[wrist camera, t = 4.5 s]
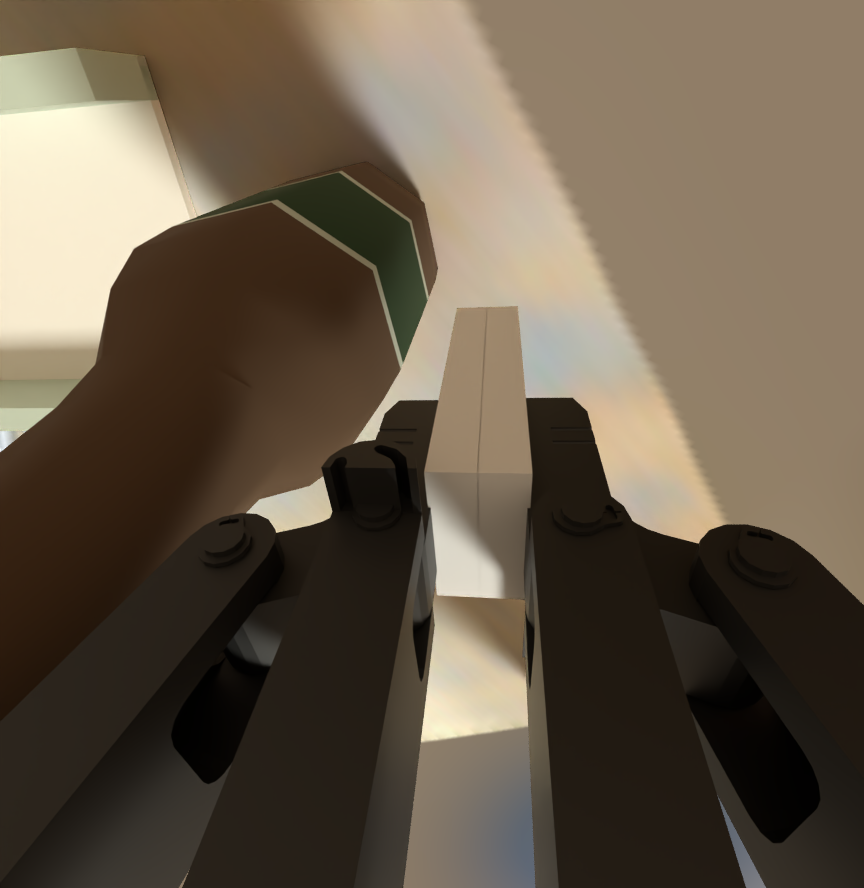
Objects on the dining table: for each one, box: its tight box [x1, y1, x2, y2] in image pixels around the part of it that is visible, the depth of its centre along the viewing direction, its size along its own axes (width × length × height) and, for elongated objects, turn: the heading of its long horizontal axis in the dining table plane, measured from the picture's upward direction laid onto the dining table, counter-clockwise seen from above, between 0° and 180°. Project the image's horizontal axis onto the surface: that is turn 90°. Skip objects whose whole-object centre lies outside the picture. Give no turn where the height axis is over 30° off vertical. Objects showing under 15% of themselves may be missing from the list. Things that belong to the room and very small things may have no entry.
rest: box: [0, 47, 197, 431], centre depth 24 cm, size 20×16×4 cm
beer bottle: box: [0, 162, 438, 721], centre depth 14 cm, size 8×8×24 cm
